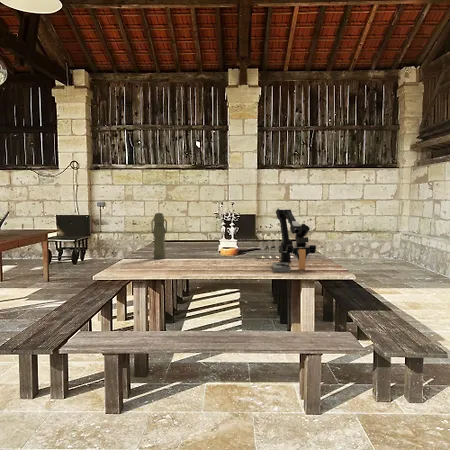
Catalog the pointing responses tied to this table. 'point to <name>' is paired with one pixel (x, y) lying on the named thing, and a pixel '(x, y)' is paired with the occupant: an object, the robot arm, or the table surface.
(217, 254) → the table surface
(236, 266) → the table surface
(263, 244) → the goblet set
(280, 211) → the robot arm
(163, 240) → the thermos
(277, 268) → the grey flat block
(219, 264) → the table surface
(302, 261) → the peg
